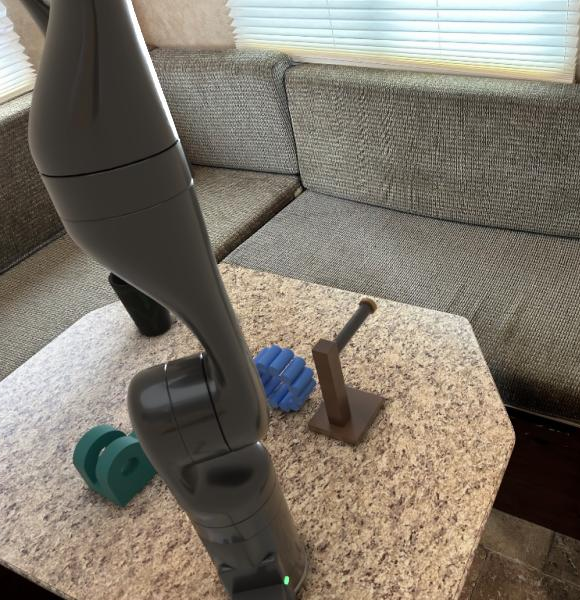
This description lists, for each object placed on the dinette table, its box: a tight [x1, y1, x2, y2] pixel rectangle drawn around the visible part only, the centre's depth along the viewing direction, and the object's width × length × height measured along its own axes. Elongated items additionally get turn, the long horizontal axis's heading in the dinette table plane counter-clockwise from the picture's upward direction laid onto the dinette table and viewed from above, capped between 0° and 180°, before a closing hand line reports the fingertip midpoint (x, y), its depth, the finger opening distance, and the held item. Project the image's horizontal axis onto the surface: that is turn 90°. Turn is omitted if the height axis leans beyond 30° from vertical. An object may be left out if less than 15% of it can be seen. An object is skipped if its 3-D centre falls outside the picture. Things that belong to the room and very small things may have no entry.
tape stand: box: [307, 297, 386, 447], centre depth 85 cm, size 14×8×16 cm, turn 154°
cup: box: [107, 272, 173, 338], centre depth 104 cm, size 8×8×12 cm
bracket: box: [72, 424, 158, 508], centre depth 84 cm, size 18×7×8 cm, turn 151°
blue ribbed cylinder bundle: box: [253, 344, 318, 413], centre depth 88 cm, size 4×9×9 cm, turn 65°
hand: (164, 231), depth 79 cm, fingers open, 8 cm apart
